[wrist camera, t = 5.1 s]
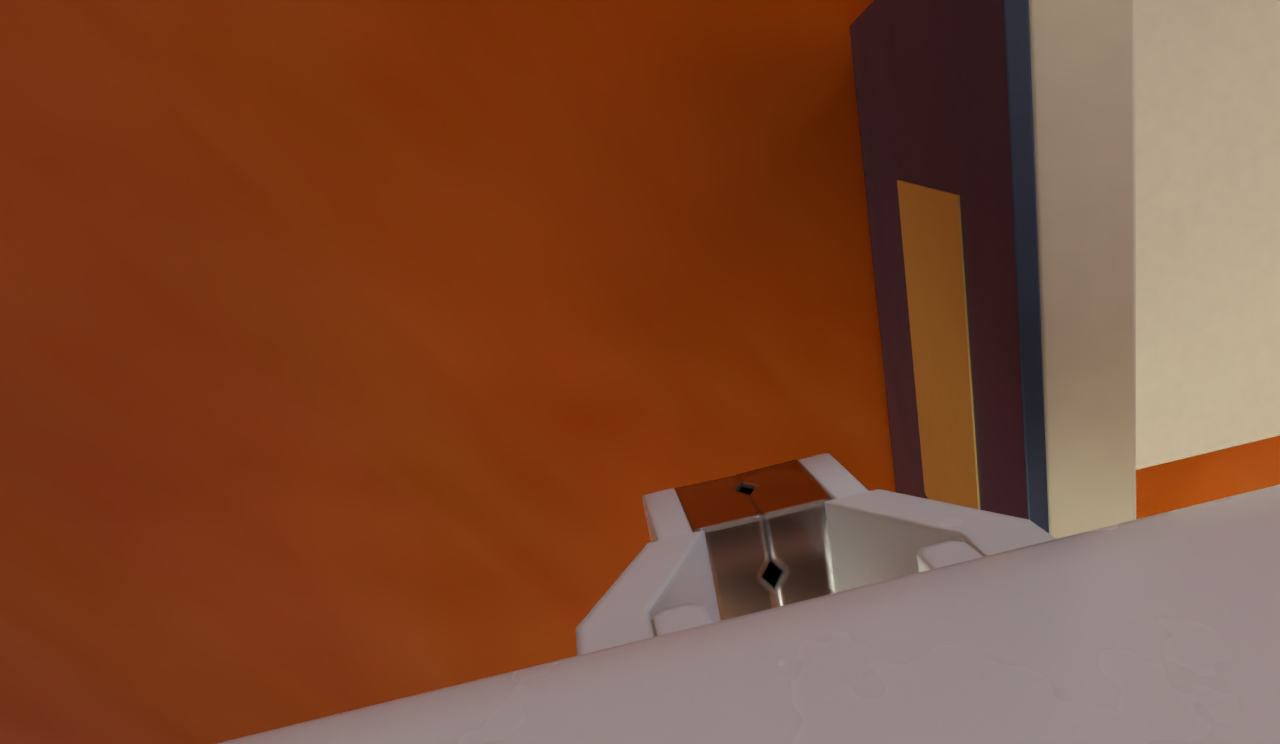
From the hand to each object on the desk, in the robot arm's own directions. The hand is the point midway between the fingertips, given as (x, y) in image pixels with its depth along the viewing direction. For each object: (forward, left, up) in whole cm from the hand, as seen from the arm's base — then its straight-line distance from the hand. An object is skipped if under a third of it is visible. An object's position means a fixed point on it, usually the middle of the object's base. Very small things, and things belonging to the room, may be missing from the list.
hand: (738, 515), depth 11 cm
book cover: (-7, 0, -5) cm, 9 cm away
